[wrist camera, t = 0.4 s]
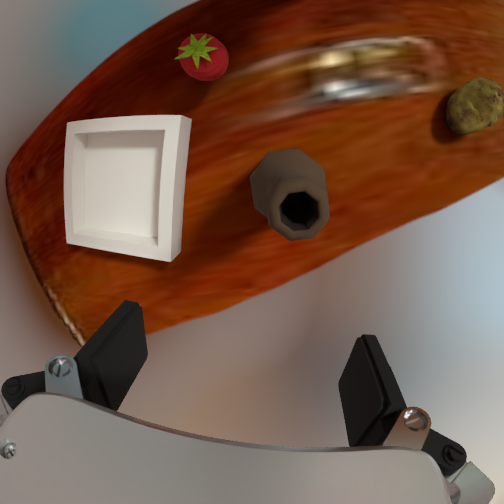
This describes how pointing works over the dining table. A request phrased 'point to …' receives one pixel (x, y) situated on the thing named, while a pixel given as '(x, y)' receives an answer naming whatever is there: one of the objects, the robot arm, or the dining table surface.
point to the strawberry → (203, 57)
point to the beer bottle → (291, 193)
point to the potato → (475, 106)
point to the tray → (126, 184)
